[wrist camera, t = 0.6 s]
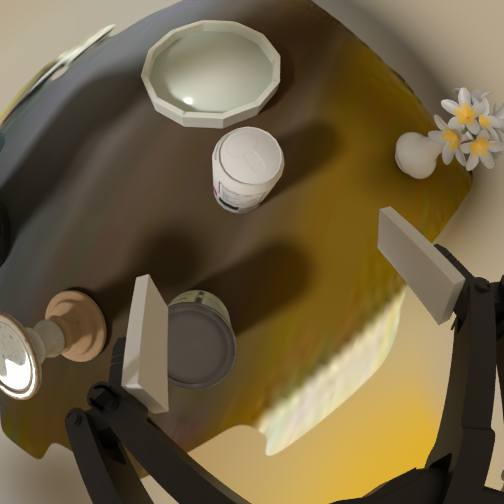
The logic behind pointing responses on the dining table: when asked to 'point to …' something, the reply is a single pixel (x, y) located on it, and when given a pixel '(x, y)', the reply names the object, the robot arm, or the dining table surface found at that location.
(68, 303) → the candle holder
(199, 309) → the coffee can
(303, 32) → the dining table surface
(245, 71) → the ceramic bowl
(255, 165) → the supplement can
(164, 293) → the dining table surface
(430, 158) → the flower vase
